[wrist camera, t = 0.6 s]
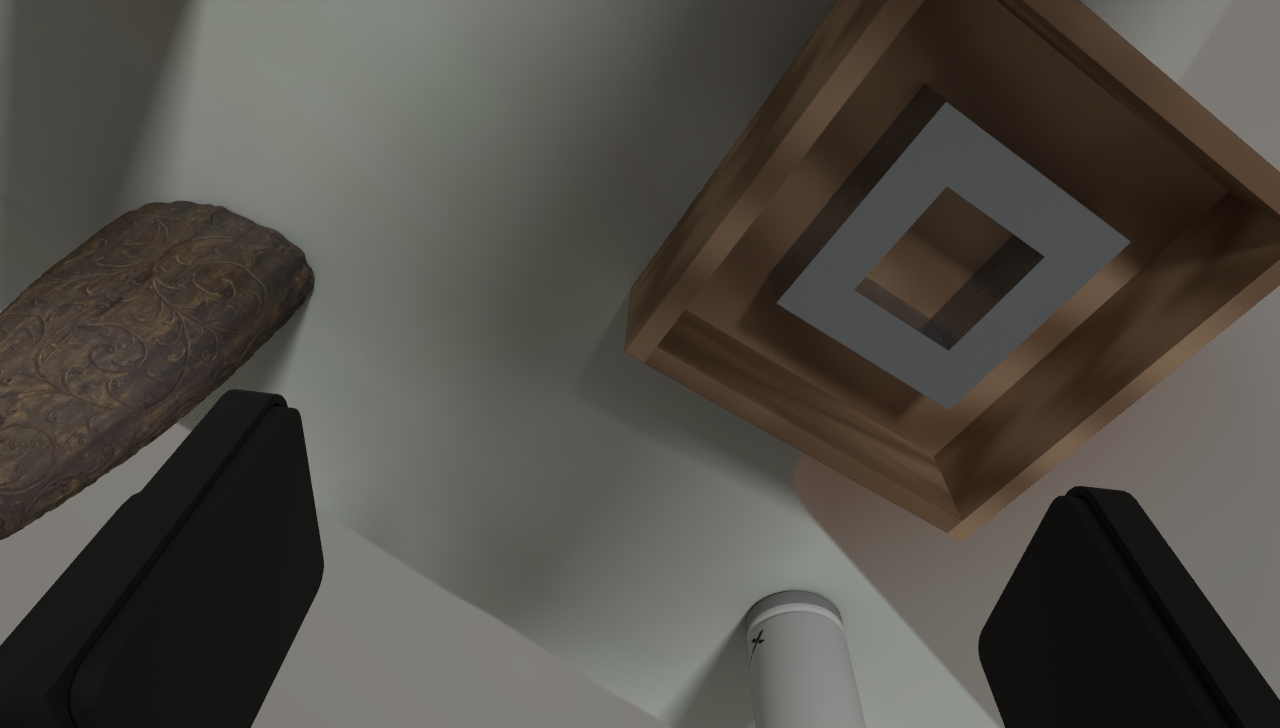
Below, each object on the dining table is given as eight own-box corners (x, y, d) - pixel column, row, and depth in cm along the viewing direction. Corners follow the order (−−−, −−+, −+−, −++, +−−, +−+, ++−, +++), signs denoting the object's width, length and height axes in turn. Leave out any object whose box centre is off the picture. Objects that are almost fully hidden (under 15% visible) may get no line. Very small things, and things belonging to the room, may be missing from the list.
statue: (202, 349, 42) (-318, 818, 20) (102, 224, 38) (-654, 623, 17) (335, 292, 40) (-82, 746, 18) (242, 155, 36) (-411, 507, 15)
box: (913, -106, 29) (962, -100, 24) (1249, 177, 35) (1347, 230, 30) (630, 289, 39) (624, 352, 34) (929, 464, 44) (962, 541, 39)
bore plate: (924, 83, 32) (946, 101, 30) (1097, 214, 35) (1131, 241, 32) (769, 273, 37) (776, 303, 34) (931, 375, 40) (949, 410, 37)
